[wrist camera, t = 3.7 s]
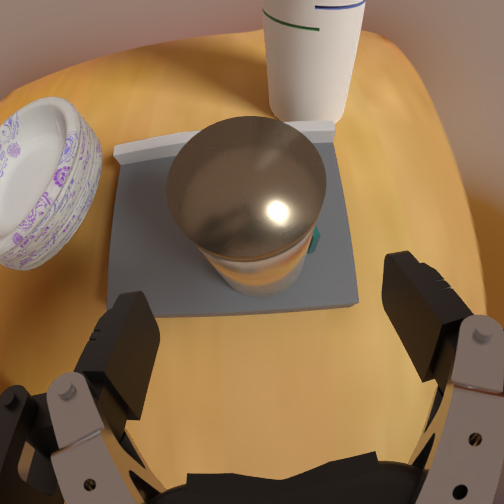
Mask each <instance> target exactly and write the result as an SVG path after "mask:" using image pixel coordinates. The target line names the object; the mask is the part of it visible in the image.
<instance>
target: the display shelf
mask: <svg viewBox="0 0 504 504" xmlns="http://www.w3.org/2000/svg"><path fill="white" fill-rule="evenodd" d="M284 123H286V124H288V125H290V126H292V127H294V128H295V129H297V130H298V131H300V132H301V133H302V134H303V135H305V136H306V137H307V138H308V139H309V140H310V141H311V142H312V144H313V145H314V146H315V148H316V149H317V151H318V153H319V154H320V156H321V158H322V161H323V164H324V167H325V172H326V183H327V185H326V194H325V198H324V201H323V205H322V208H321V212H320V214H319V217H318V219H317V221H316V224H315V225H316V227H317V229H318V231H319V232H320V234H321V236H320V239H319V241H318V244H317V247H316V249H315V252H313V253H311V254H309V255H308V252H307V254H306V258H305V261H304V264H303V268H302V271H301V273H300V275H299V277H298V279H297V280H296V281H295V283H294V284H293V285H292V286H291V287H290V288H289V289H287V290H286V291H284V292H283V293H281V294H279V295H276V296H274V297H269V298H252V297H248V296H245V295H243V294H241V293H239V292H237V291H236V290H234V289H233V288H232V287H231V286H230V285H229V284H228V283H227V282H226V280H225V279H224V278H223V277H222V276H221V275H220V273H219V272H218V271H217V270H216V269H215V268H214V266H213V265H212V264H211V263H210V262H209V261H208V259H207V258H206V257H205V256H204V255H203V253H202V252H201V251H200V250H199V249H198V248H197V247H196V246H195V245H194V244H193V243H192V242H191V241H190V240H189V239H188V238H187V237H186V235H185V234H184V233H183V232H182V231H181V229H180V228H179V227H178V226H177V224H176V223H175V221H174V219H173V218H172V215H171V213H170V210H169V207H168V203H167V196H166V184H167V178H168V173H169V170H170V168H171V165H172V163H173V161H174V159H175V157H176V156H177V154H178V153H179V151H180V150H181V148H182V147H183V146H184V145H185V144H186V143H187V142H188V141H189V140H190V139H191V138H192V137H193V136H194V135H196V134H197V133H199V132H200V131H201V130H198V131H191V132H182V133H176V134H170V135H164V136H159V137H153V138H149V139H144V140H139V141H134V142H129V143H125V144H120V145H116V146H115V148H114V153H113V156H114V158H115V159H116V160H117V161H118V162H119V164H120V165H121V167H120V173H119V179H118V185H117V192H116V199H115V206H114V214H113V222H112V232H111V242H110V253H109V266H108V283H107V311H108V310H109V309H112V307H113V305H114V303H115V301H116V299H117V297H118V296H119V294H121V293H127V292H135V291H142V292H143V293H144V295H145V297H146V299H147V301H148V304H149V306H150V308H151V311H152V313H153V315H154V318H166V317H209V316H234V315H253V314H270V313H285V312H299V311H311V310H323V309H334V308H344V307H351V306H353V305H355V304H357V303H359V298H358V289H357V280H356V272H355V264H354V256H353V249H352V242H351V235H350V229H349V223H348V216H347V211H346V205H345V199H344V194H343V188H342V183H341V178H340V173H339V168H338V163H337V158H336V154H335V149H334V145H333V140H334V136H335V131H336V130H335V126H334V122H333V120H326V121H294V122H284Z"/></svg>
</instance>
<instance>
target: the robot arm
mask: <svg viewBox="0 0 504 504" xmlns="http://www.w3.org/2000/svg"><path fill="white" fill-rule="evenodd" d="M382 303H383V307H384V310H385V312H386V314H387V315H388V317H389V319H390V321H391V323H392V324H393V326H394V328H395V330H396V332H397V334H398V336H399V337H400V339H401V341H402V343H403V345H404V347H405V349H406V351H407V353H408V355H409V357H410V359H411V361H412V363H413V365H414V366H415V368H416V371H417V373H418V375H419V377H420V379H421V381H422V383H423V382H426V381H429V380H432V379H435V380H436V382H437V384H438V385H437V387H436V389H435V393H434V396H433V400H432V403H431V406H430V410H429V413H428V416H427V419H426V422H425V425H424V428H423V431H422V434H421V436H420V439H419V441H418V444H417V446H416V448H415V450H414V452H413V454H412V456H411V458H410V460H409V462H408V464H405V463H400V462H394V461H378V459H377V455H376V452H375V451H374V452H370V453H366V454H362V455H358V456H354V457H350V458H345V459H341V460H336V461H331V462H328V463H326V464H323V465H321V466H319V467H316V468H314V469H311V470H309V471H306V472H304V473H301V474H298V475H296V476H293V477H290V478H287V479H284V480H274V479H266V478H258V477H252V476H245V475H239V474H234V473H223V474H189V473H187V482H186V484H184V485H180V486H177V487H174V488H171V489H169V490H167V489H166V488H165V487H164V486H163V485H162V483H161V482H160V481H159V480H158V479H157V478H156V477H155V475H154V474H153V473H152V471H151V470H150V468H149V467H148V465H147V463H146V462H145V460H144V458H143V457H142V455H141V453H140V452H139V450H138V448H137V446H136V445H135V443H134V441H133V439H132V438H131V436H130V434H129V432H128V431H127V429H126V428H125V425H126V421H127V420H140V418H141V414H142V410H143V406H144V401H145V397H146V393H147V389H148V385H149V381H150V377H151V373H152V369H153V366H154V362H155V358H156V354H157V351H158V347H159V343H160V332H159V328H158V325H157V322H156V320H155V318H154V315H153V313H152V311H151V308H150V306H149V304H148V301H147V299H146V297H145V295H144V293H143V292H142V291H135V292H127V293H121V294H119V296H118V297H117V299H116V301H115V303H114V305H113V307H112V309H109V310H108V311H107V312H106V313H105V314H104V315H103V316H102V317H101V318H100V319H99V320H98V322H97V324H96V326H95V328H94V332H92V334H91V336H90V338H89V341H88V342H87V344H86V346H85V348H84V350H83V352H82V354H81V357H80V359H79V361H78V363H77V365H76V367H75V369H74V372H69V373H65V374H63V375H61V376H59V377H58V378H57V379H55V380H54V381H53V383H52V384H51V385H50V387H49V389H48V391H47V393H43V394H39V395H34V396H31V395H30V394H29V393H28V391H27V390H26V389H25V388H24V387H23V386H21V385H14V386H11V387H9V388H8V389H6V390H5V391H4V392H3V393H2V394H1V396H0V504H64V501H65V503H66V504H492V502H493V499H494V496H495V492H496V488H497V484H498V481H499V476H500V472H501V468H502V463H503V458H504V329H502V327H501V325H500V324H499V323H498V322H497V321H495V320H494V319H492V318H490V317H488V316H484V315H474V314H473V313H472V312H471V310H470V309H469V308H468V307H467V305H466V304H465V303H464V302H463V301H462V299H461V298H460V297H459V296H458V295H457V293H456V292H455V291H454V290H453V289H451V286H450V285H449V284H448V283H447V282H446V281H444V278H443V277H442V276H441V275H440V274H439V273H438V272H437V270H436V269H434V268H432V267H430V266H429V265H427V264H425V263H419V262H418V261H417V259H416V258H415V257H414V256H413V255H412V254H411V253H410V252H409V251H402V252H396V253H390V254H387V255H386V256H385V259H384V272H383V284H382Z"/></svg>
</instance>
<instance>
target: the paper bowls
mask: <svg viewBox="0 0 504 504" xmlns="http://www.w3.org/2000/svg"><path fill="white" fill-rule="evenodd" d="M101 169H102V148H101V145H100V141H99V139H98V137H97V136H96V134H95V132H94V131H93V130H92V128H91V127H90V126H89V124H88V123H87V122H86V121H85V119H84V118H83V117H82V116H81V114H80V113H79V112H78V111H77V110H76V108H75V107H74V105H73V104H72V103H70V102H69V101H67V100H66V99H63V98H59V97H46V98H42V99H39V100H36V101H34V102H31V103H29V104H28V105H26V106H24V107H22V108H21V109H19V110H18V111H17V112H15V113H14V114H13V115H12V116H10V117H9V118H8V119H7V120H6V121H5V122H4V123H3V124H2V125H1V126H0V264H1V265H3V266H5V267H8V268H11V269H15V270H22V271H28V270H31V269H34V268H37V267H39V266H41V265H42V264H44V263H45V262H46V261H48V260H49V259H51V258H52V257H53V256H55V255H56V254H57V253H58V252H59V251H60V250H61V249H62V248H63V246H64V245H65V244H67V243H68V241H69V240H70V239H71V237H72V236H73V235H74V233H75V232H76V231H77V229H78V228H79V226H80V225H81V223H82V221H83V220H84V218H85V217H86V214H87V212H88V210H89V208H90V206H91V203H92V202H93V198H94V196H95V194H96V189H97V188H98V182H99V180H100V175H101Z"/></svg>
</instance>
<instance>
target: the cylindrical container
mask: <svg viewBox="0 0 504 504" xmlns="http://www.w3.org/2000/svg"><path fill="white" fill-rule="evenodd" d="M261 1H262V13H263V24H264V37H265V49H266V63H267V77H268V91H269V105H270V108H271V111H272V112H273V114H274V115H275V116H276V117H277V118H278V119H279V120H280V121H282V122H294V121H326V120H333V122H334V124H335V123H336V122H337V121H339V120H340V118H341V117H342V115H343V112H344V108H345V104H346V99H347V95H348V90H349V85H350V81H351V76H352V71H353V66H354V62H355V57H356V51H357V46H358V41H359V36H360V30H361V25H362V19H363V13H364V8H365V2H366V0H261Z"/></svg>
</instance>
